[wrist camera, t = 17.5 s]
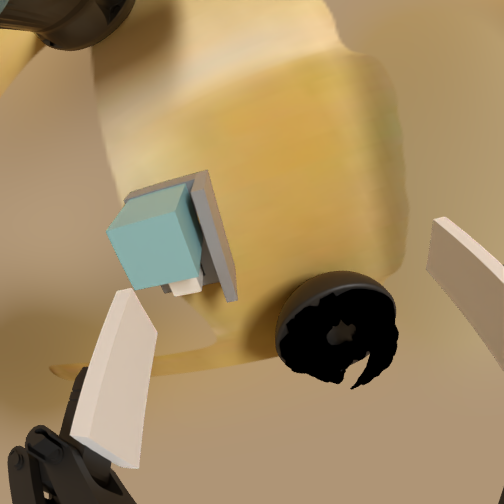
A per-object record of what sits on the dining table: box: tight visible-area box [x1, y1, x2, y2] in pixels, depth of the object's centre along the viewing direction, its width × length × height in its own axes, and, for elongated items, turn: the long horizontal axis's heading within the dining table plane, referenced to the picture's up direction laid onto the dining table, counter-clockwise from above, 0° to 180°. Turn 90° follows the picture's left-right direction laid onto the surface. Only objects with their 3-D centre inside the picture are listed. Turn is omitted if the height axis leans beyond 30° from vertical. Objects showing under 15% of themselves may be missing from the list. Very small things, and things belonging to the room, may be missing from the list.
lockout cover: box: [106, 183, 203, 290], centre depth 33 cm, size 8×8×9 cm
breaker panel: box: [124, 170, 238, 302], centre depth 38 cm, size 16×12×8 cm
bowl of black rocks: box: [275, 271, 399, 389], centre depth 42 cm, size 20×20×19 cm
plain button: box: [168, 263, 203, 297], centre depth 40 cm, size 4×4×5 cm
